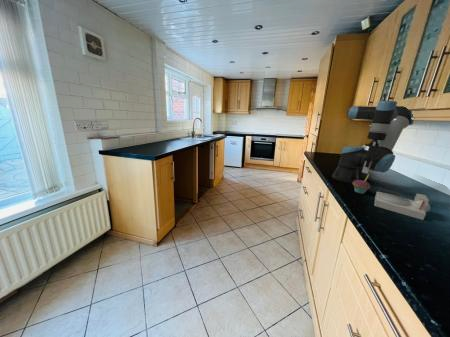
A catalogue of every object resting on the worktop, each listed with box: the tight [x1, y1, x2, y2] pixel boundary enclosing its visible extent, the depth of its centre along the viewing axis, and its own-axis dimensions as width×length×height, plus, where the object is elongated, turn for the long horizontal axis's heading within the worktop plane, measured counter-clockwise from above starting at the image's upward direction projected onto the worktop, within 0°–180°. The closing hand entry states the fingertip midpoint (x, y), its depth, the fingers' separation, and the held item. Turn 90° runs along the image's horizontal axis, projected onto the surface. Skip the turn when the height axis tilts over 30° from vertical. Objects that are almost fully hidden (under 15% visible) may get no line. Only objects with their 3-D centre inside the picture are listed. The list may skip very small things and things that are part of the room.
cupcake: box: [352, 172, 372, 194], centre depth 104 cm, size 9×8×12 cm
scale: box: [374, 191, 431, 221], centre depth 89 cm, size 16×18×8 cm
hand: (365, 170), depth 102 cm, fingers open, 13 cm apart
